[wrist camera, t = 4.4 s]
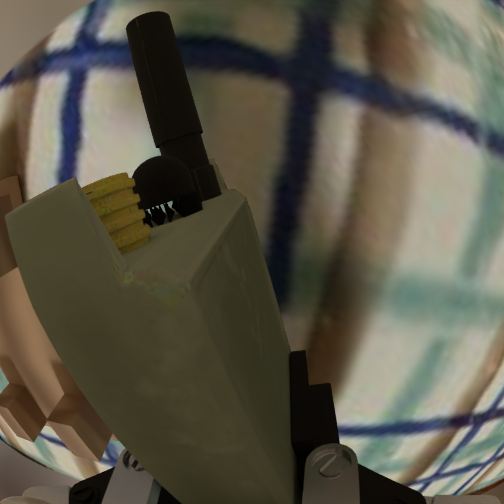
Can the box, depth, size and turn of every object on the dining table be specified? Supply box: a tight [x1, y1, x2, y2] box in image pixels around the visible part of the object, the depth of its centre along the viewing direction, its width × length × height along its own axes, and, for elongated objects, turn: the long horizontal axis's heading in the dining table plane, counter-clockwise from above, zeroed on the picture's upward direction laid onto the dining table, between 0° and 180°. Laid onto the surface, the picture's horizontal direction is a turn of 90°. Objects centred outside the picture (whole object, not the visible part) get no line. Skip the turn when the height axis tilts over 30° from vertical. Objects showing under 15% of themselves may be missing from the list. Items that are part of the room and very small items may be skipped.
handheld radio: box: [5, 11, 303, 504], centre depth 8 cm, size 7×3×25 cm
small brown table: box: [0, 175, 119, 461], centre depth 15 cm, size 10×20×4 cm, turn 9°
